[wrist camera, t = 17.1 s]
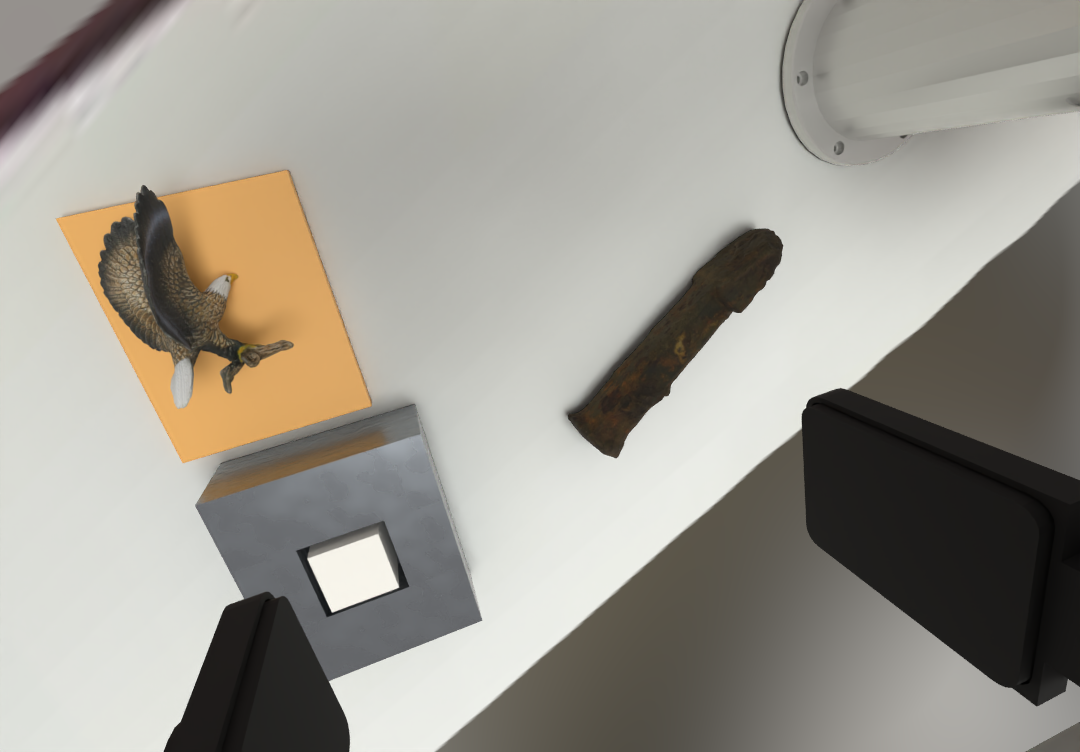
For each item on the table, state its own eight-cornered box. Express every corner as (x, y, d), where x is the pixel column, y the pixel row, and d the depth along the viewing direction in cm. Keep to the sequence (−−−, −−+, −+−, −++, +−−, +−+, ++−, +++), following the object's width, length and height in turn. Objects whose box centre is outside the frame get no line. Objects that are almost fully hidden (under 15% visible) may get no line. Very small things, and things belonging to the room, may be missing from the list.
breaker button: (377, 499, 35) (378, 534, 31) (396, 548, 36) (399, 587, 32) (314, 520, 34) (307, 558, 30) (336, 570, 35) (332, 612, 32)
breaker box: (414, 404, 35) (420, 433, 30) (470, 572, 40) (482, 620, 35) (220, 463, 33) (195, 505, 28) (304, 634, 37) (294, 694, 33)
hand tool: (595, 445, 40) (622, 473, 36) (559, 414, 38) (583, 440, 34) (769, 256, 40) (817, 262, 35) (740, 216, 38) (787, 217, 34)
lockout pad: (288, 171, 29) (286, 170, 28) (371, 401, 34) (371, 406, 33) (64, 218, 27) (55, 218, 26) (187, 457, 32) (182, 463, 31)
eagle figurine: (326, 299, 30) (181, 156, 25) (267, 391, 25) (69, 236, 20) (241, 344, 33) (98, 227, 28) (173, 435, 28) (-17, 311, 23)
